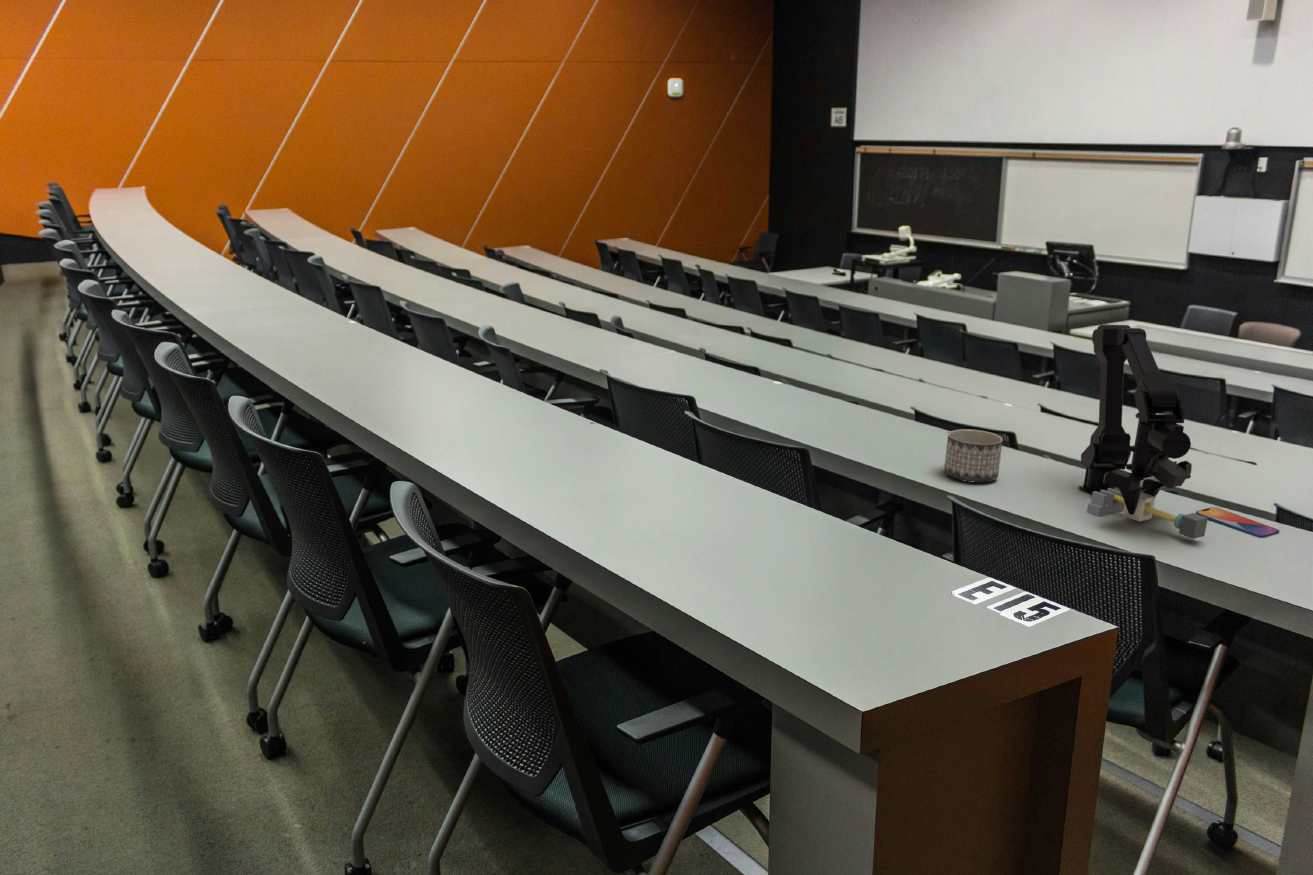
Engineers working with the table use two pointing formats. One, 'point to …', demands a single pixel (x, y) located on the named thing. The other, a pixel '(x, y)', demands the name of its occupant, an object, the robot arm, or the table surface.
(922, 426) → the table surface
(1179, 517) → the teal puck
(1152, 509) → the rod
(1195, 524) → the dark grey cube
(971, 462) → the planter
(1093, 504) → the comb
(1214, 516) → the smartphone
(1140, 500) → the sleeve
